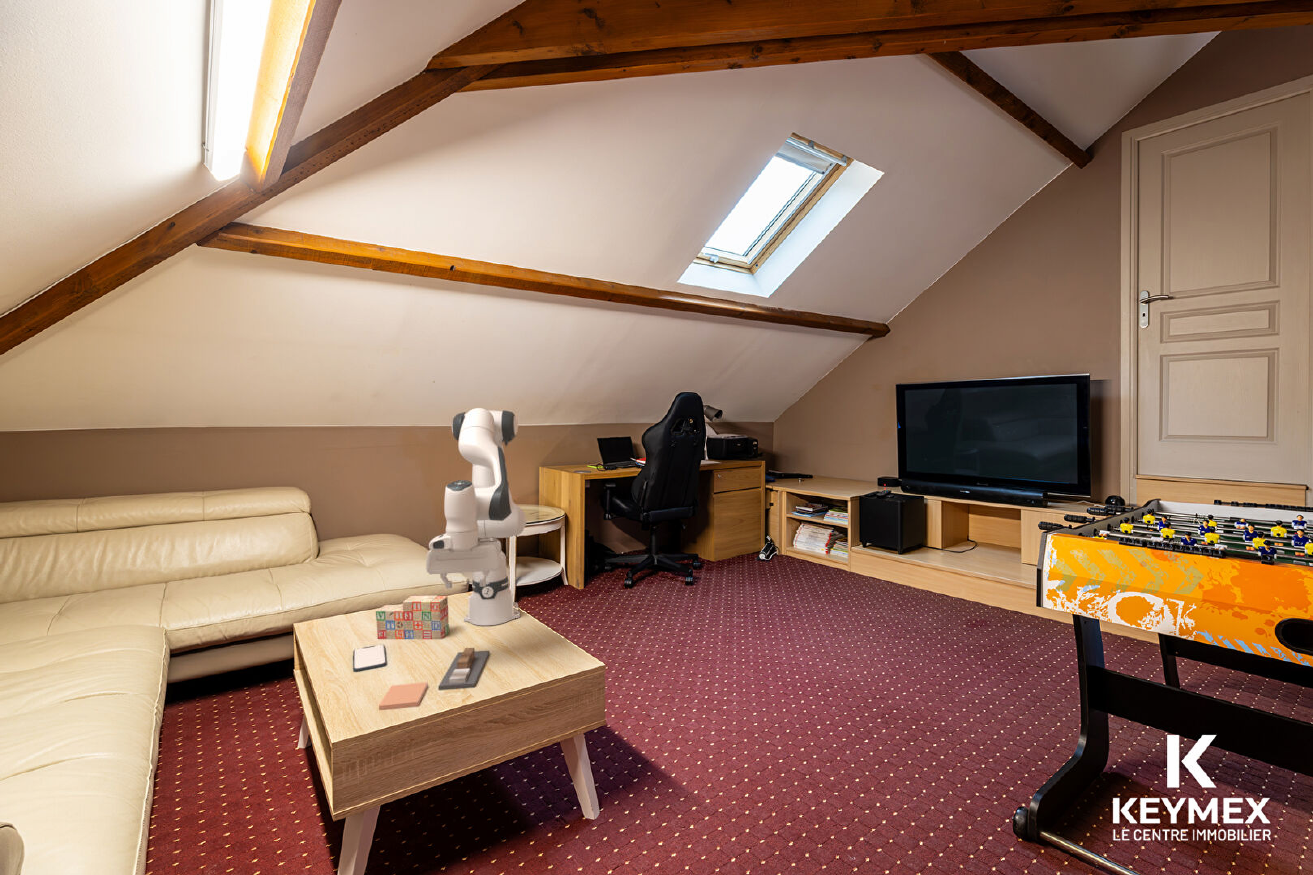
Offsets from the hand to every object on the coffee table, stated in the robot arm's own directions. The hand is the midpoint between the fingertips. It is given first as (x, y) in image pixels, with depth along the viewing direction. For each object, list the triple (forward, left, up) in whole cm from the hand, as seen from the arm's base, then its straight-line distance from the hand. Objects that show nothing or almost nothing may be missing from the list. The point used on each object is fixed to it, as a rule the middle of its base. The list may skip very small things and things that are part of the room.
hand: (465, 586), depth 176 cm
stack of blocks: (-26, -23, -22) cm, 41 cm away
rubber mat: (+5, 0, -22) cm, 23 cm away
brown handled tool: (+7, 0, -21) cm, 22 cm away
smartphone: (-8, -30, -23) cm, 39 cm away
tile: (+14, -12, -22) cm, 28 cm away
